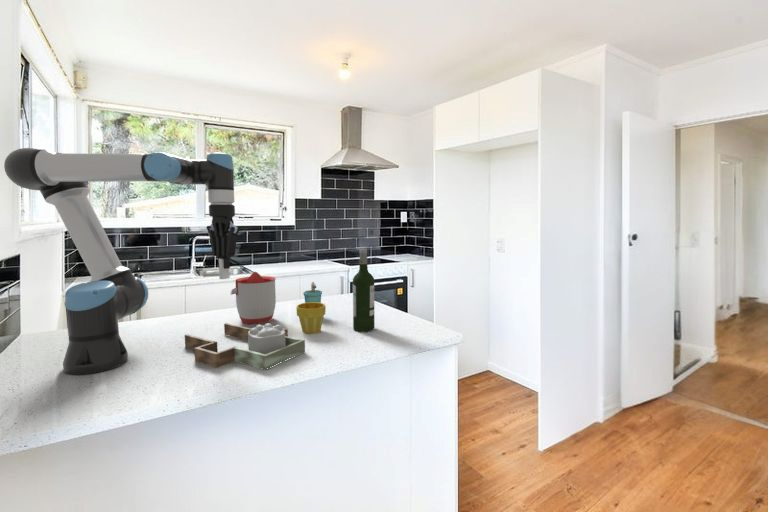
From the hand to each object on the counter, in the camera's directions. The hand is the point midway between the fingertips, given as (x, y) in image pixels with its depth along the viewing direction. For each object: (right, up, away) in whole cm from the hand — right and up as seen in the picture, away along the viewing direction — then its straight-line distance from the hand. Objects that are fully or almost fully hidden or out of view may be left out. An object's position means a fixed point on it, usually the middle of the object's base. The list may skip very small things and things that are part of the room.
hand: (224, 278), depth 128 cm
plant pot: (+24, -21, +19) cm, 37 cm away
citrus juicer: (-1, -19, +33) cm, 38 cm away
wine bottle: (+43, -20, +22) cm, 53 cm away
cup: (+22, -19, +38) cm, 47 cm away
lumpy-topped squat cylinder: (+14, -23, -3) cm, 28 cm away
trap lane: (+6, -23, 0) cm, 24 cm away
